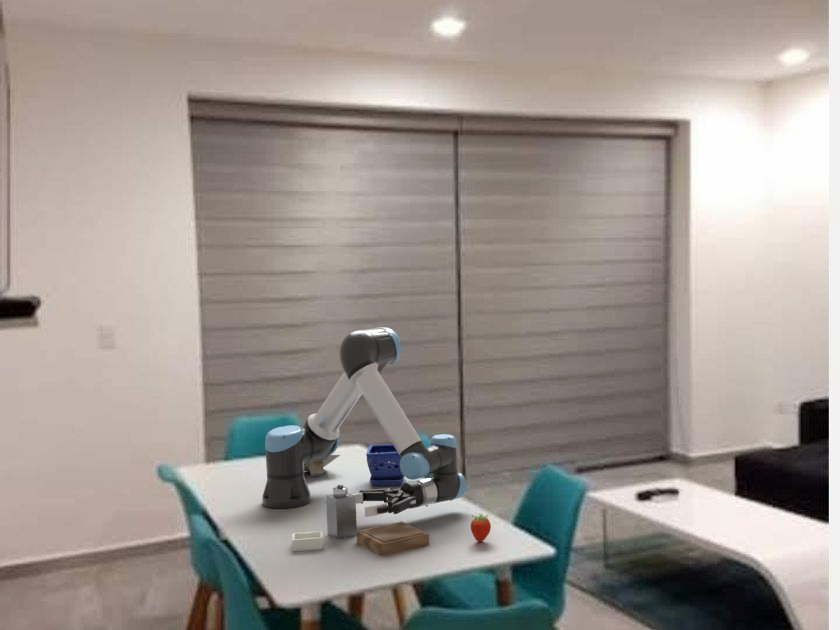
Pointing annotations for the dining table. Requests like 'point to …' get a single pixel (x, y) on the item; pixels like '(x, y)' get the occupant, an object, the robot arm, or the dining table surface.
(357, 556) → the dining table surface
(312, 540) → the box
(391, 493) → the robot arm
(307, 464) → the wall
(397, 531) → the stand
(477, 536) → the fruit
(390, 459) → the flower pot
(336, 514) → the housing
